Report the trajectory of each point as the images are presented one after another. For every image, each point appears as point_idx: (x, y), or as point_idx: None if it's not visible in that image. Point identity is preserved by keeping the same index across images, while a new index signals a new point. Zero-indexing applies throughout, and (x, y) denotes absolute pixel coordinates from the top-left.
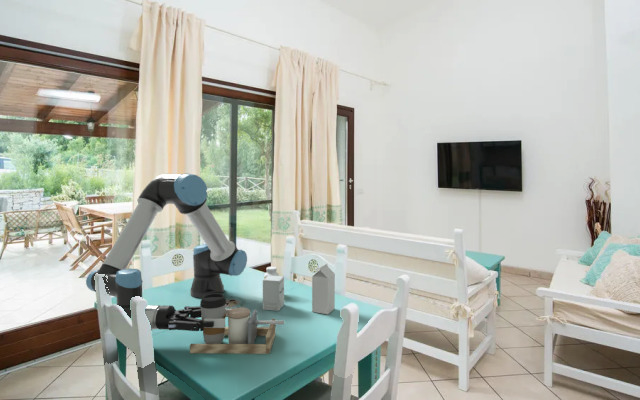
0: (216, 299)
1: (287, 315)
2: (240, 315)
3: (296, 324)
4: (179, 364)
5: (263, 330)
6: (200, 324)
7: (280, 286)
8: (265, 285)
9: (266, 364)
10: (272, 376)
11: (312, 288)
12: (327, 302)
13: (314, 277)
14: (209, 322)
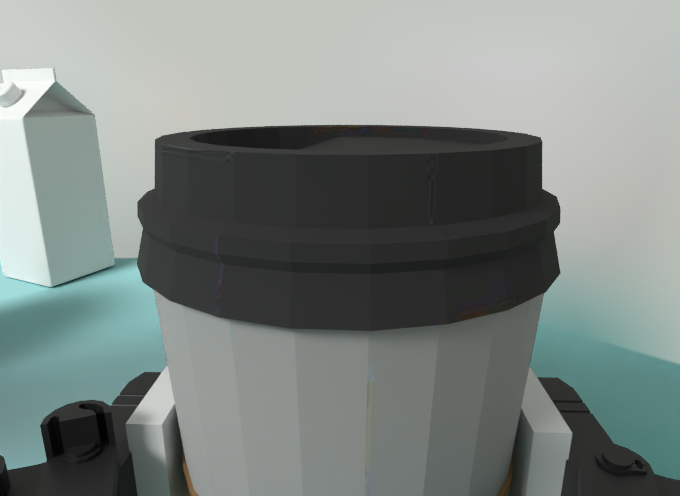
0: (414, 140)
1: (21, 339)
2: None
3: (157, 316)
4: None
5: None
6: (674, 488)
7: None
8: None
9: (539, 364)
10: (615, 346)
11: (35, 179)
12: (107, 217)
13: (35, 122)
14: (569, 403)
